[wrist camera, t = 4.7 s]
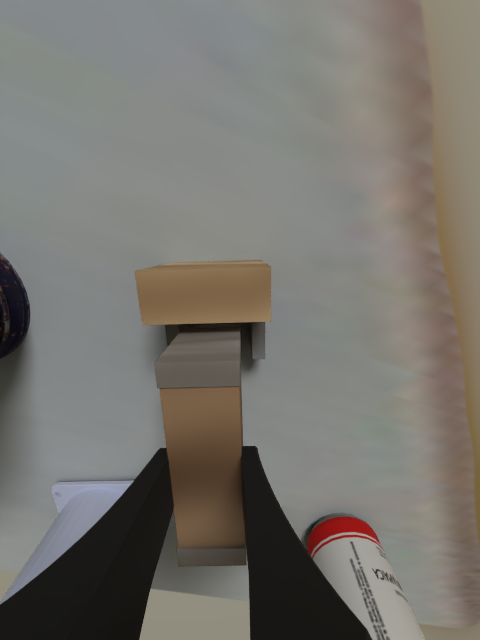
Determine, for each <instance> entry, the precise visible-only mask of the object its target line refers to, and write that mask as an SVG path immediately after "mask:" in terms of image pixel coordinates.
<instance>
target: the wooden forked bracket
mask: <svg viewBox="0 0 480 640" xmlns="http://www.w3.org/2000/svg"><path fill="white" fill-rule="evenodd" d="M135 277H136V284H137V292H138V299H139V306H140V313H141V320H142V325H165V328H166V336H167V345H168V346H169V345H170V343H171V342H172V341H173V340H174V339H175V337H176V336H177V335H178V334H179V332H180V331H181V330H182V329H184V328H188V324H201V323H236V322H251V350H252V359H265V322H271V266H269V265H267V264H266V263H264V262H263V261H261V260H253V261H221V262H189V263H169V264H164V265H160V266H155V267H150V268H146V269H141V270H136V271H135Z"/></svg>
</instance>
